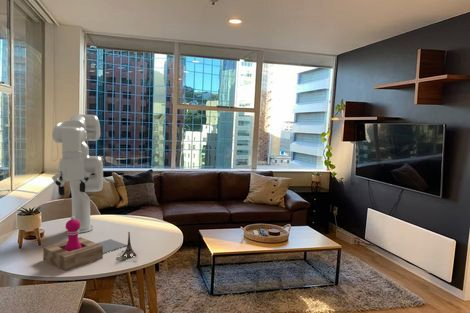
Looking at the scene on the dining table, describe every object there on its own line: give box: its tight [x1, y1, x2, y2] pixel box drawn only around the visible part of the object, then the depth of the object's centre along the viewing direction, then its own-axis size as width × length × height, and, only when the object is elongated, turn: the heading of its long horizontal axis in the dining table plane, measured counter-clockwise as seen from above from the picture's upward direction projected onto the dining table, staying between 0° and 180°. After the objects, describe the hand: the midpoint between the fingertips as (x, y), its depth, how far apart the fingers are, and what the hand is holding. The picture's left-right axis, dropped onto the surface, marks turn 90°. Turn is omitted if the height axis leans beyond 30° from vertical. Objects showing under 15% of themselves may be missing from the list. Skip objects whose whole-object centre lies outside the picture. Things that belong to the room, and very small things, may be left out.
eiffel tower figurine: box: [115, 231, 138, 263], centre depth 165 cm, size 15×10×13 cm
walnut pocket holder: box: [42, 236, 104, 272], centre depth 160 cm, size 18×18×6 cm
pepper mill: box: [65, 216, 82, 252], centre depth 159 cm, size 7×7×20 cm
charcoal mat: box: [96, 238, 127, 255], centre depth 177 cm, size 14×14×1 cm
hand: (72, 193), depth 157 cm, fingers open, 9 cm apart
